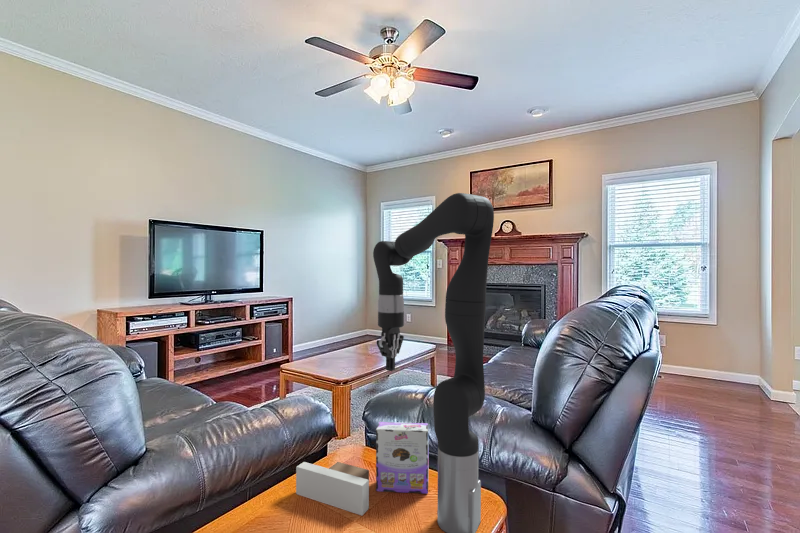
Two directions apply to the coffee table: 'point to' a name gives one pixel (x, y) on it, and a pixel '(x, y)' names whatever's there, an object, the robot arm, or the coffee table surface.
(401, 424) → the candy box
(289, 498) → the coffee table surface
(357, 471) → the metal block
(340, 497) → the painted board
